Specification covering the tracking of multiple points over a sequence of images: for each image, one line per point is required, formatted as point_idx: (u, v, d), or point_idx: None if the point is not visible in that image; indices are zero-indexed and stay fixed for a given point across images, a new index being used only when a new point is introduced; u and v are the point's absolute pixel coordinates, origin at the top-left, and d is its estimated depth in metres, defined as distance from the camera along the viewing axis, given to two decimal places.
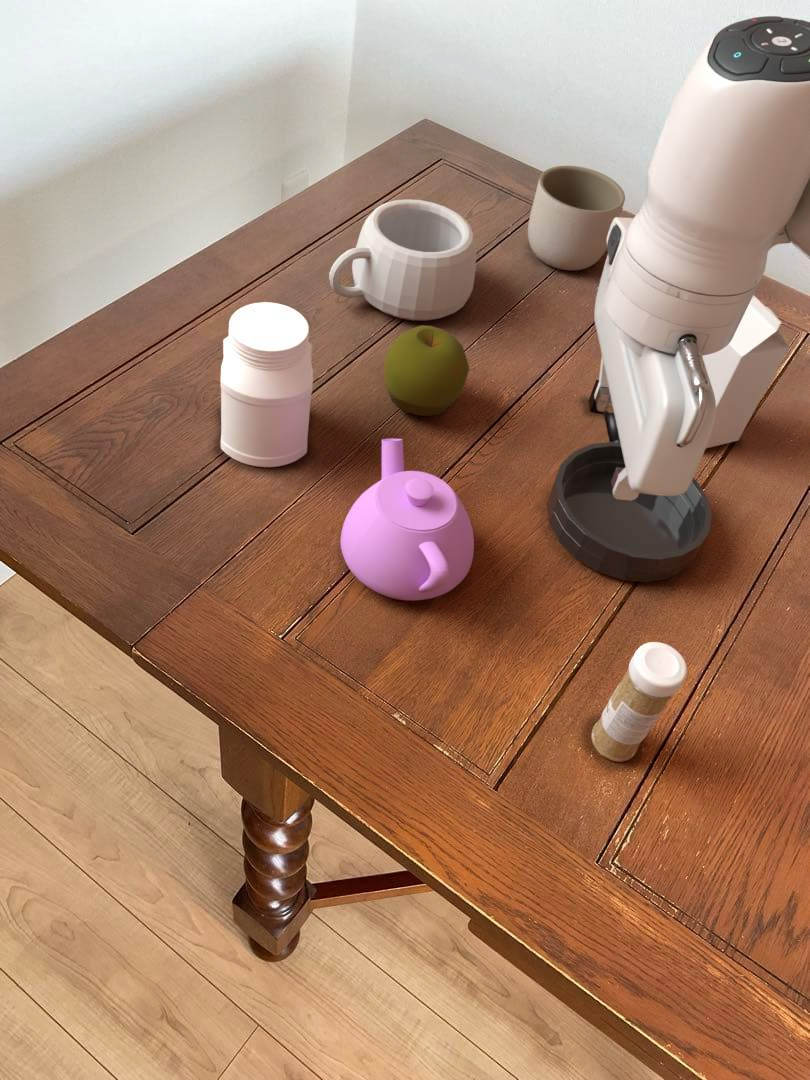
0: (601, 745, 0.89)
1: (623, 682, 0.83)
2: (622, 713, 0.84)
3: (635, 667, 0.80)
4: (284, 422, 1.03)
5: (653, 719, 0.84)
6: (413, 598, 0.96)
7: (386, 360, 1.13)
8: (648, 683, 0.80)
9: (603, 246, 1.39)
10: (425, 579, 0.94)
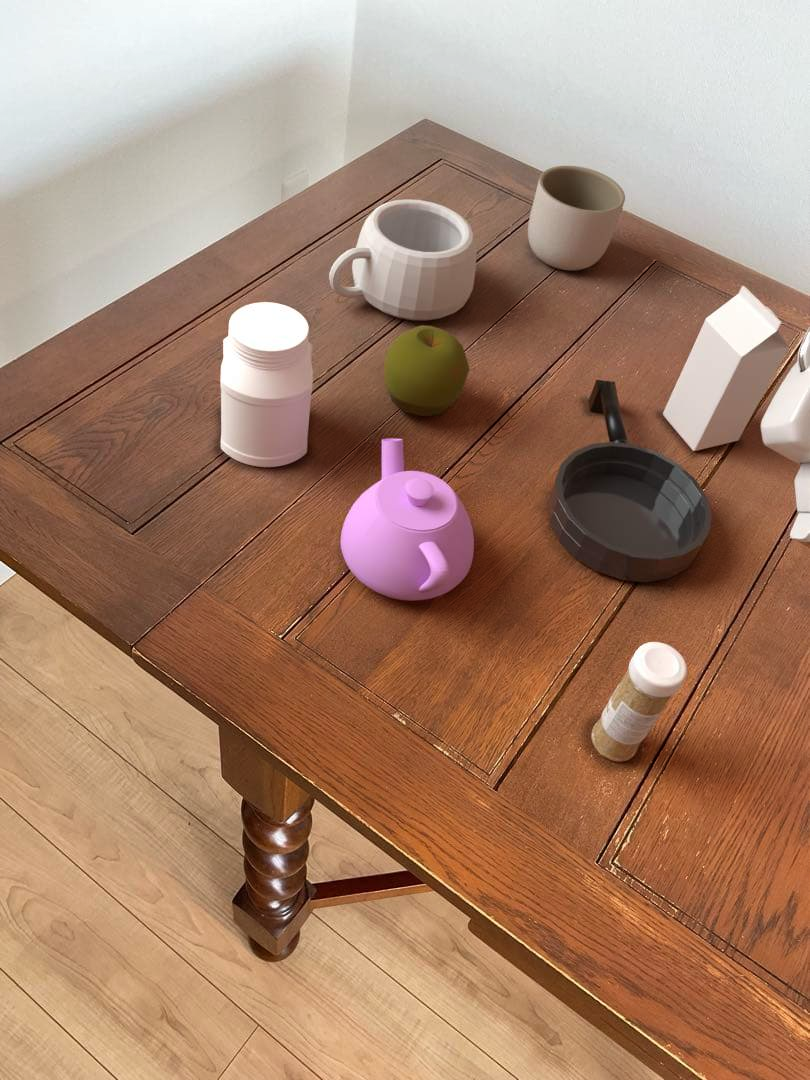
0: (601, 745, 0.89)
1: (623, 682, 0.83)
2: (622, 713, 0.84)
3: (635, 667, 0.80)
4: (284, 422, 1.03)
5: (653, 719, 0.84)
6: (413, 598, 0.96)
7: (386, 360, 1.13)
8: (648, 683, 0.80)
9: (603, 246, 1.39)
10: (425, 579, 0.94)
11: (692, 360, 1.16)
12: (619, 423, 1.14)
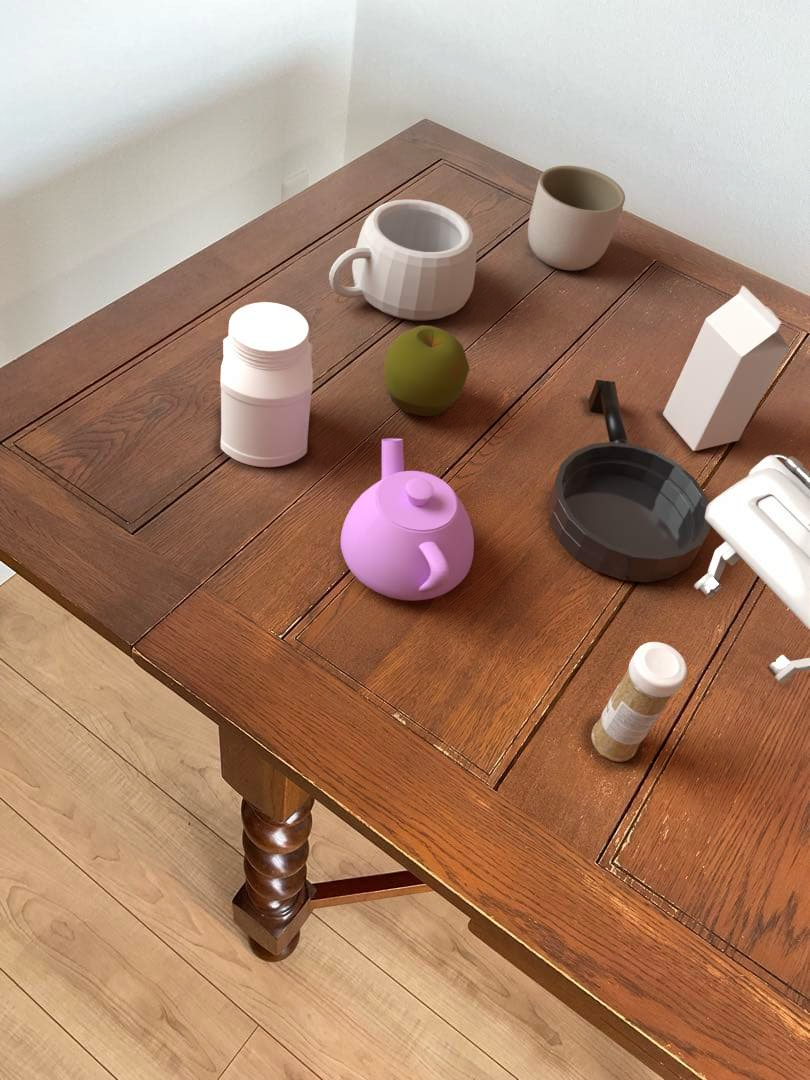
0: (601, 745, 0.89)
1: (623, 682, 0.83)
2: (622, 713, 0.84)
3: (635, 667, 0.80)
4: (284, 422, 1.03)
5: (653, 719, 0.84)
6: (413, 598, 0.96)
7: (386, 360, 1.13)
8: (648, 683, 0.80)
9: (603, 246, 1.39)
10: (425, 579, 0.94)
11: (692, 360, 1.16)
12: (619, 423, 1.14)
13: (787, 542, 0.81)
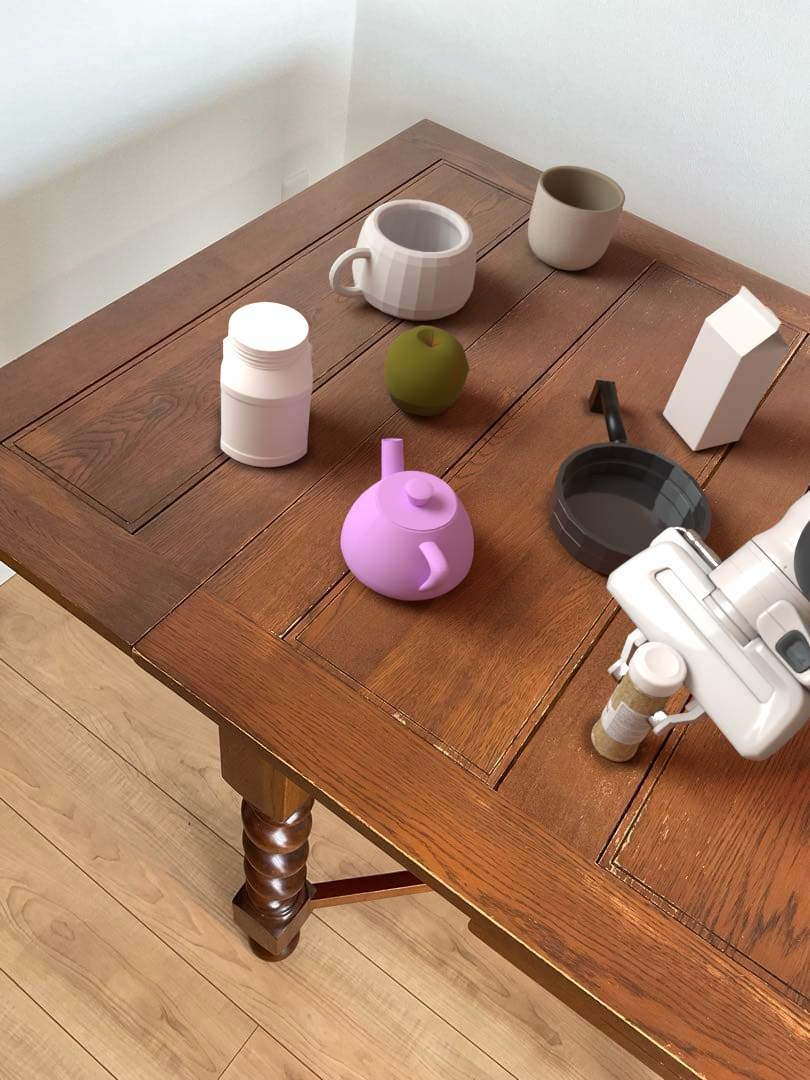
0: (601, 745, 0.89)
1: (623, 682, 0.83)
2: (622, 713, 0.84)
3: (635, 667, 0.80)
4: (284, 422, 1.03)
5: None
6: (413, 598, 0.96)
7: (386, 360, 1.13)
8: (648, 683, 0.80)
9: (603, 246, 1.39)
10: (425, 579, 0.94)
11: (692, 360, 1.16)
12: (619, 423, 1.14)
13: (681, 616, 0.83)
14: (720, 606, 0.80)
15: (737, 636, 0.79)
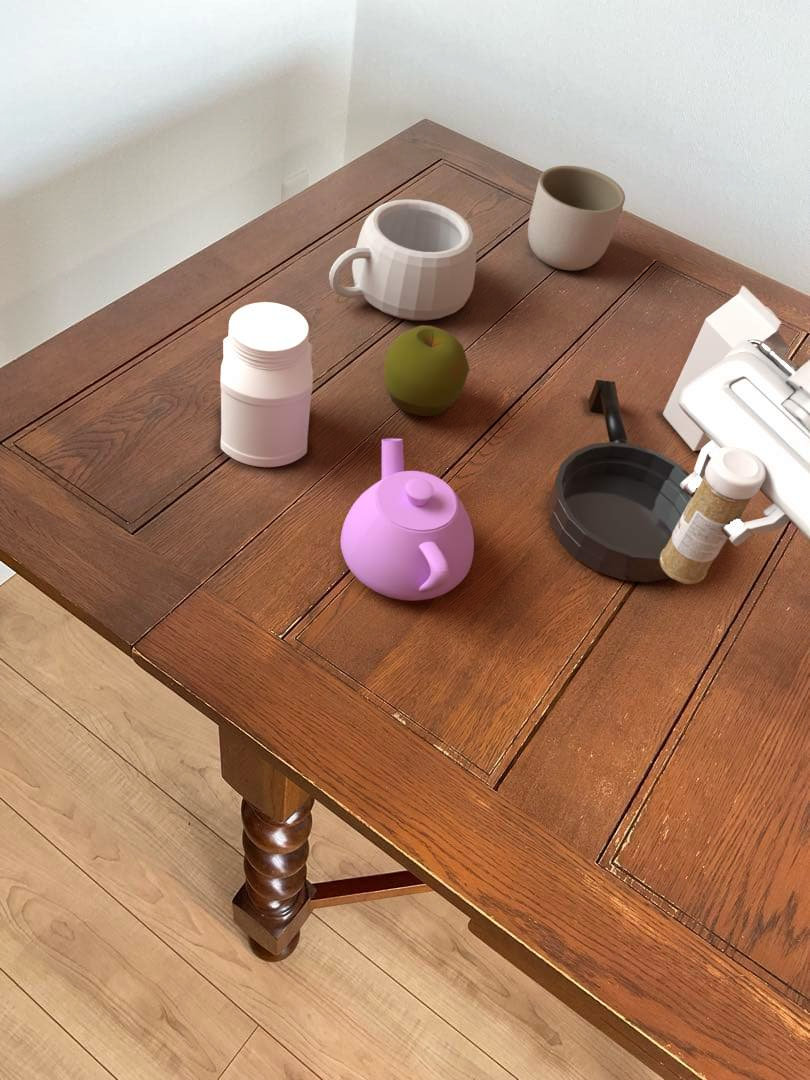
0: (671, 566, 0.87)
1: (698, 490, 0.81)
2: (696, 524, 0.82)
3: (713, 468, 0.78)
4: (284, 422, 1.03)
5: None
6: (413, 598, 0.96)
7: (386, 360, 1.13)
8: (727, 483, 0.78)
9: (603, 246, 1.39)
10: (425, 579, 0.94)
11: (692, 360, 1.16)
12: (619, 423, 1.14)
13: (758, 422, 0.81)
14: (801, 406, 0.78)
15: None
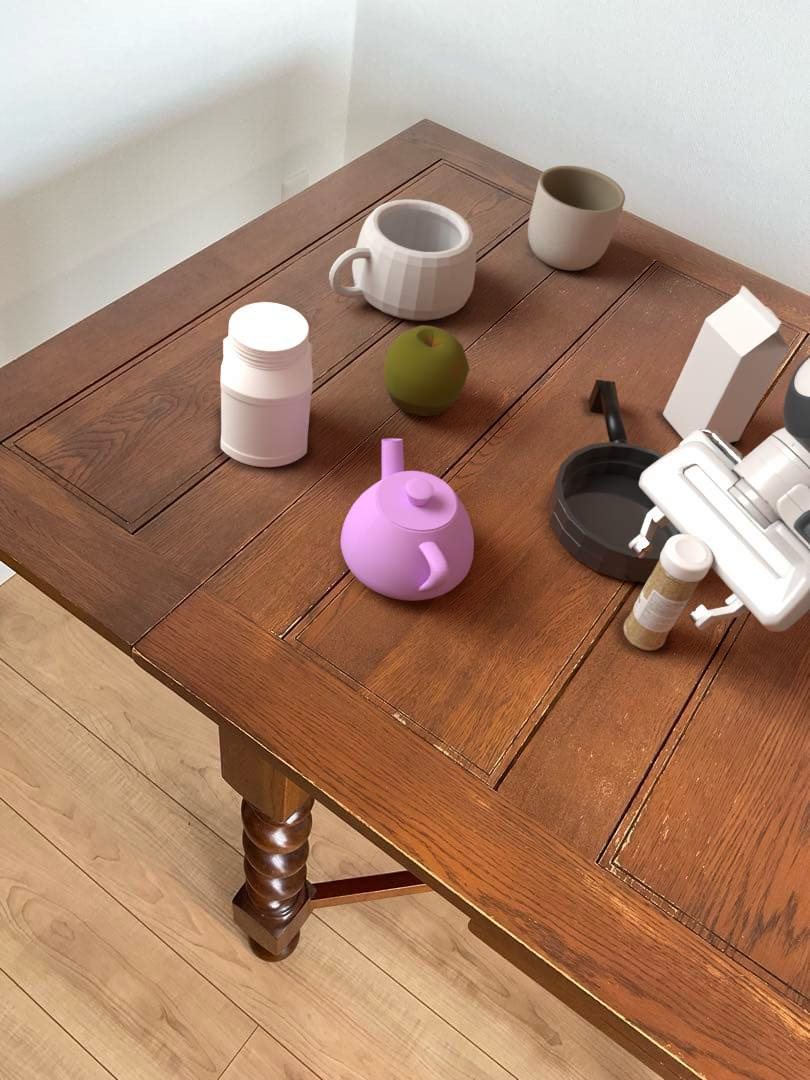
0: (633, 635, 0.98)
1: (654, 572, 0.92)
2: (653, 600, 0.93)
3: (666, 554, 0.89)
4: (284, 422, 1.03)
5: (681, 606, 0.93)
6: (413, 598, 0.96)
7: (386, 360, 1.13)
8: (678, 568, 0.89)
9: (603, 246, 1.39)
10: (425, 579, 0.94)
11: (692, 360, 1.16)
12: (619, 423, 1.14)
13: (708, 505, 0.92)
14: (743, 493, 0.89)
15: (759, 519, 0.88)
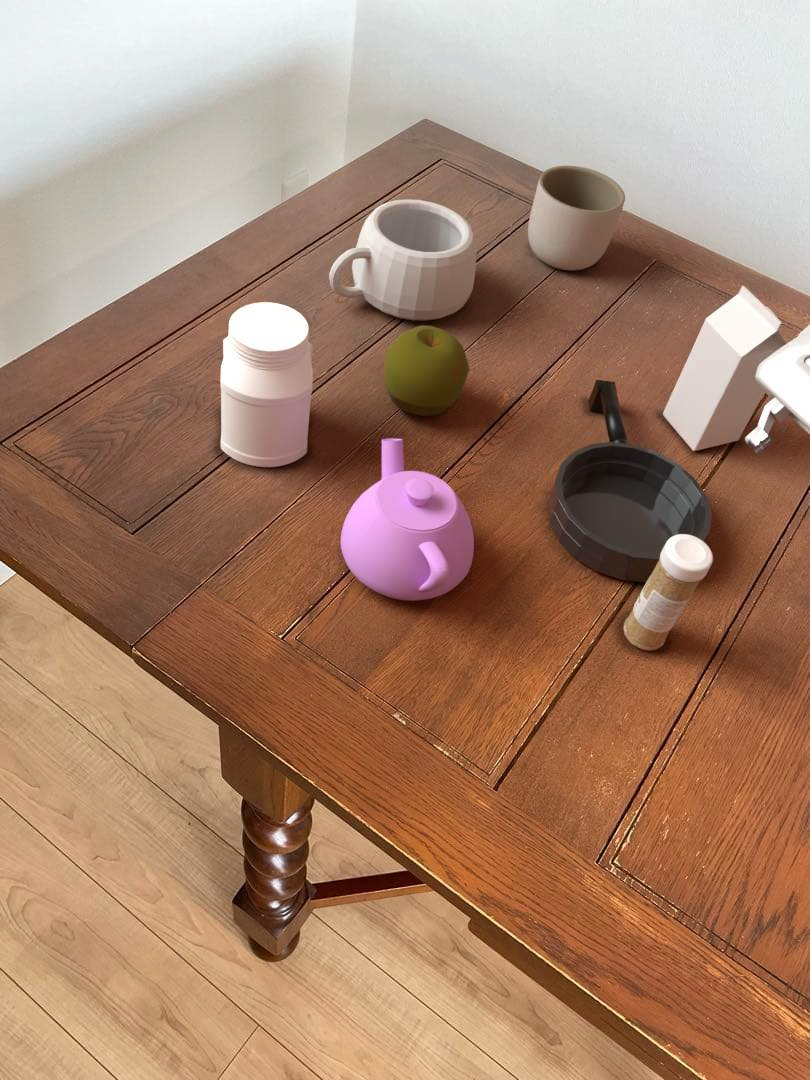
0: (633, 635, 0.98)
1: (654, 572, 0.92)
2: (653, 600, 0.93)
3: (666, 554, 0.89)
4: (284, 422, 1.03)
5: (681, 606, 0.93)
6: (413, 598, 0.96)
7: (386, 360, 1.13)
8: (678, 568, 0.89)
9: (603, 246, 1.39)
10: (425, 579, 0.94)
11: (692, 360, 1.16)
12: (619, 423, 1.14)
13: None
14: None
15: None
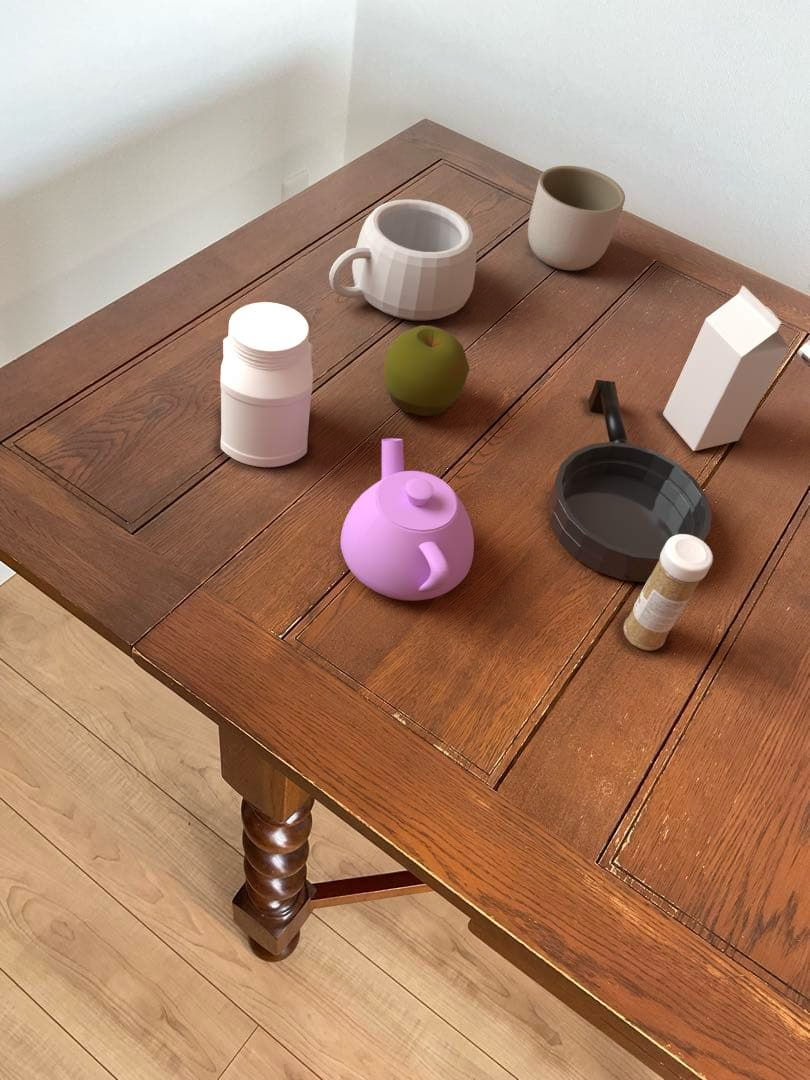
0: (633, 635, 0.98)
1: (654, 572, 0.92)
2: (653, 600, 0.93)
3: (666, 554, 0.89)
4: (284, 422, 1.03)
5: (681, 606, 0.93)
6: (413, 598, 0.96)
7: (386, 360, 1.13)
8: (678, 568, 0.89)
9: (603, 246, 1.39)
10: (425, 579, 0.94)
11: (692, 360, 1.16)
12: (619, 423, 1.14)
13: None
14: None
15: None
